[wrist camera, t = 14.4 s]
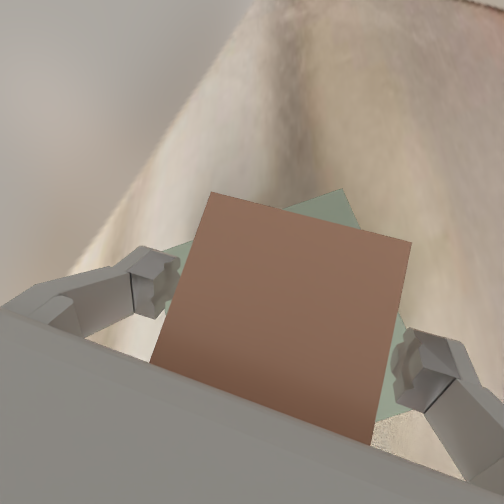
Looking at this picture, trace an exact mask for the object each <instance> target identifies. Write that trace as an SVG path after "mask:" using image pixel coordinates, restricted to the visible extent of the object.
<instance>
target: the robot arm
mask: <svg viewBox="0 0 504 504" xmlns="http://www.w3.org/2000/svg"><path fill="white" fill-rule="evenodd" d="M180 267H181V265H180V258H179V257H177V256H174V255H171V254H168V253H165V252H162V251H159V250H156V249H152V248H149V247H146V246H139V247H138V248H136V249H135V250H134V251H133V252H131V253H130V254H129V255H127V256H126V257H125V258H124V259H122V260H121V261H120V262H118V263H117V264H116V265H115V266H113V267H110V266H107V267H103V268H99V269H95V270H91V271H87V272H83V273H79V274H75V275H71V276H67V277H63V278H59V279H55V280H51V281H47V282H43V283H39V284H35V285H33V286H32V287H31V288H29V289H27V290H26V291H25V292H23V293H21V294H20V295H18V296H17V297H15V298H13V299H12V300H10V301H9V302H7V303H6V304H4V305H3V306H1V307H0V504H504V404H503V403H502V402H501V401H500V400H499V399H498V398H497V397H496V396H495V395H494V394H493V393H492V392H490V391H489V390H488V389H487V388H484V387H482V386H481V384H480V381H479V379H478V377H477V374H476V372H475V370H474V367H473V365H472V363H471V360H470V358H469V356H468V353H467V351H466V349H465V346H464V345H463V344H462V343H461V342H460V341H456V340H453V339H449V338H446V337H441V336H437V335H434V334H431V333H427V332H424V331H420V330H417V329H414V328H410V327H409V328H408V329H407V330H406V331H405V333H404V334H403V339H404V342H401V343H399V344H397V345H396V347H395V348H394V350H393V353H392V356H391V364H390V366H391V372H392V374H393V375H394V376H395V378H396V380H395V382H394V383H393V388H394V395H395V402H396V403H397V404H400V405H402V406H405V407H408V408H410V409H413V410H416V411H418V412H421V413H424V416H425V418H426V419H427V421H428V422H429V424H430V425H431V427H432V429H433V430H434V432H435V433H436V435H437V436H438V438H439V440H440V441H441V443H442V444H443V446H444V447H445V449H446V451H447V452H448V454H449V455H450V457H451V458H452V460H453V461H454V463H455V465H456V466H457V468H458V469H459V471H460V472H461V474H462V476H463V477H464V479H465V480H466V482H465V481H462V480H460V479H457V478H454V477H452V476H449V475H446V474H444V473H441V472H438V471H436V470H433V469H430V468H428V467H425V466H422V465H420V464H417V463H414V462H412V461H409V460H406V459H404V458H401V457H398V456H396V455H393V454H390V453H388V452H385V451H382V450H380V449H377V448H374V447H372V446H369V445H366V444H364V443H361V442H358V441H356V440H353V439H350V438H348V437H345V436H342V435H340V434H337V433H334V432H332V431H329V430H326V429H324V428H321V427H318V426H316V425H313V424H310V423H308V422H305V421H302V420H300V419H297V418H294V417H292V416H289V415H286V414H284V413H281V412H278V411H276V410H273V409H271V408H268V407H265V406H263V405H260V404H257V403H255V402H252V401H249V400H247V399H244V398H241V397H239V396H236V395H233V394H231V393H228V392H225V391H223V390H220V389H217V388H215V387H212V386H209V385H207V384H204V383H201V382H199V381H196V380H193V379H191V378H188V377H185V376H183V375H180V374H177V373H175V372H172V371H169V370H167V369H164V368H161V367H159V366H156V365H153V364H151V363H148V362H145V361H143V360H140V359H137V358H135V357H132V356H129V355H127V354H124V353H122V352H119V351H116V350H114V349H111V348H108V347H106V346H103V345H100V344H98V343H95V342H92V341H90V340H87V339H84V338H86V337H88V336H90V335H92V334H94V333H96V332H98V331H100V330H102V329H104V328H106V327H108V326H110V325H112V324H114V323H116V322H118V321H120V320H122V319H125V318H127V317H129V316H131V315H133V314H134V313H136V314H139V315H142V316H146V317H149V318H152V319H156V318H157V317H158V316H159V314H160V313H161V312H162V311H163V310H164V308H165V302H166V301H169V300H172V298H173V296H174V293H175V290H176V287H177V285H178V282H179V279H180V275H179V273H178V271H177V270H178V269H179V268H180Z"/></svg>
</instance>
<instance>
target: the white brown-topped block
mask: <svg viewBox="0 0 504 504" xmlns="http://www.w3.org/2000/svg"><path fill="white" fill-rule="evenodd" d="M411 245H412V242H408V241H404V240H400V239H396V238H392V237H388V236H384V235H380V234H376V233H372V232H368V231H364V230H361V229H357V228H353V227H349V226H345V225H341V224H337V223H333V222H329V221H325V220H321V219H317V218H313V217H309V216H305V215H301V214H297V213H293V212H289V211H285V210H281V209H278V208H274V207H270V206H266V205H262V204H258V203H254V202H250V201H246V200H242V199H238V198H234V197H230V196H226V195H222V194H218V193H214V192H211V194H210V196H209V199H208V202H207V205H206V207H205V210H204V213H203V216H202V218H201V221H200V224H199V227H198V229H197V232H196V235H195V238H194V240H193V243H192V246H191V249H190V252H189V254H188V257H187V260H186V263H185V265H184V268H183V271H182V274H181V276H180V279H179V282H178V285H177V287H176V290H175V293H174V296H173V298H172V301H171V304H170V307H169V309H168V312H167V315H166V318H165V321H164V323H163V326H162V329H161V332H160V334H159V337H158V340H157V343H156V345H155V348H154V351H153V354H152V356H151V359H150V362H149V363H151V364H153V365H156V366H159V367H161V368H164V369H167V370H169V371H172V372H175V373H177V374H180V375H183V376H185V377H188V378H191V379H193V380H196V381H199V382H201V383H204V384H207V385H209V386H212V387H215V388H217V389H220V390H223V391H225V392H228V393H231V394H233V395H236V396H239V397H241V398H244V399H247V400H249V401H252V402H255V403H257V404H260V405H263V406H265V407H268V408H271V409H273V410H276V411H278V412H281V413H284V414H286V415H289V416H292V417H294V418H297V419H300V420H302V421H305V422H308V423H310V424H313V425H316V426H318V427H321V428H324V429H326V430H329V431H332V432H334V433H337V434H340V435H342V436H345V437H348V438H350V439H353V440H356V441H358V442H361V443H364V444H366V445H369V446H370V444H371V439H372V434H373V429H374V425H375V420H376V415H377V410H378V405H379V400H380V395H381V390H382V386H383V381H384V376H385V371H386V366H387V361H388V356H389V352H390V347H391V342H392V337H393V332H394V327H395V322H396V318H397V313H398V308H399V303H400V298H401V293H402V288H403V283H404V279H405V274H406V269H407V264H408V259H409V254H410V249H411Z"/></svg>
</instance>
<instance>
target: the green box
mask: <svg viewBox="0 0 504 504" xmlns="http://www.w3.org/2000/svg"><path fill="white" fill-rule="evenodd" d="M281 210H285V211H289V212H293V213H297V214H301V215H305V216H309V217H313V218H317V219H321V220H325V221H329V222H333V223H337V224H341V225H345V226H349V227H353V228H357V229H360V227H359V224H358V222H357V220H356V218H355V216H354V213H353V211H352V209H351V207H350V205H349V202H348V200H347V198H346V196H345V194H344V191H343V189H339V190H336V191H333V192H330V193H327V194H324V195H322V196H319V197H316V198H313V199H310V200H307V201H304V202H301V203H299V204H296V205H293V206H290V207H287V208H284V209H281ZM192 243H193V241H190V242H187V243H184V244H181V245H178V246H175V247H172V248H170V249H167V250H164V251H162V252H165V253H168V254H171V255H174V256H177V257H179V258H180V265H181V267H180V268H179V269H178V270H177V271H178V273H179V275H180V276H181V274H182V271H183V268H184V265H185V263H186V260H187V257H188V254H189V252H190V249H191V246H192ZM171 301H172V300H169V301H166V302H165V308H164V309H165V313H166V315H167V312H168V309H169V307H170V304H171ZM405 331H406V328H405V325H404V323H403V321H402V319H401V317H400V314H399V312H398V313H397V318H396V322H395V327H394V332H393V337H392V342H391V347H390V352H389V356H388V361H387V366H386V371H385V376H384V381H383V386H382V390H381V395H380V400H379V405H378V410H377V415H376V420H375V422H377V421H380V420H383V419H386V418H389V417H392V416H395V415H398V414H401V413H404V412H407V411H410V410H413V409H410V408H408V407H405V406H402V405H400V404H397V403H396V402H395V395H394V388H393V383H394V382H395V380H396V378H395V376H394V375H393V374H392V372H391V366H390V364H391V356H392V353H393V350H394V348H395V347H396V345H397V344H399V343H401V342H404V339H403V334H404V333H405Z"/></svg>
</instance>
